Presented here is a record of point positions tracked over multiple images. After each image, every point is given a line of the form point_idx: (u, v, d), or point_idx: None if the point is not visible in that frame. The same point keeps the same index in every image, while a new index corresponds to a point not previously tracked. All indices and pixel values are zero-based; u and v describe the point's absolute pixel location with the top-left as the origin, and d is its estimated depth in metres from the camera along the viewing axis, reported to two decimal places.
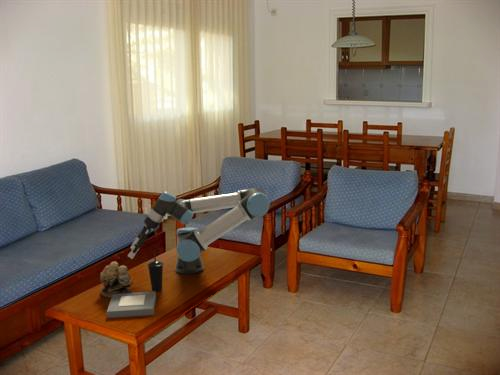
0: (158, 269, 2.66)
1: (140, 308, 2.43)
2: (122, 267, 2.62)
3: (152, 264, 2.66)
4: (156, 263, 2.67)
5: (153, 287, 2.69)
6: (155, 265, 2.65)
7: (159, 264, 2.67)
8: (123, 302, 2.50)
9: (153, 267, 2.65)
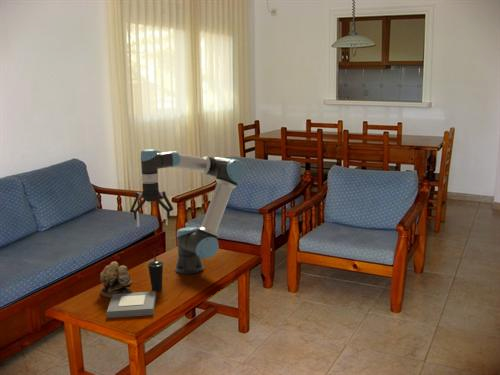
0: (158, 269, 2.66)
1: (140, 308, 2.43)
2: (122, 267, 2.62)
3: (152, 264, 2.66)
4: (156, 263, 2.67)
5: (153, 287, 2.69)
6: (155, 265, 2.65)
7: (159, 264, 2.67)
8: (123, 302, 2.50)
9: (153, 267, 2.65)
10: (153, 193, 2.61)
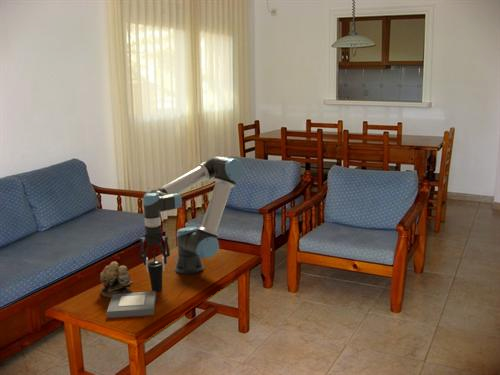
0: (158, 269, 2.66)
1: (140, 308, 2.43)
2: (122, 267, 2.62)
3: (152, 264, 2.66)
4: (156, 263, 2.67)
5: (153, 287, 2.69)
6: (155, 265, 2.65)
7: (159, 264, 2.67)
8: (123, 302, 2.50)
9: (152, 267, 2.65)
10: (156, 235, 2.65)
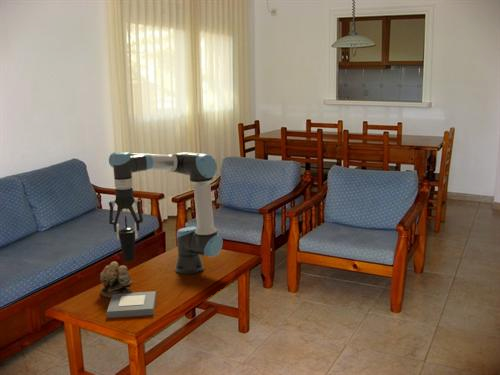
0: (129, 236, 2.42)
1: (140, 308, 2.43)
2: (122, 267, 2.62)
3: (123, 230, 2.42)
4: (127, 229, 2.42)
5: (124, 256, 2.45)
6: (126, 231, 2.41)
7: (131, 231, 2.42)
8: (123, 302, 2.50)
9: (124, 233, 2.41)
10: (128, 198, 2.41)
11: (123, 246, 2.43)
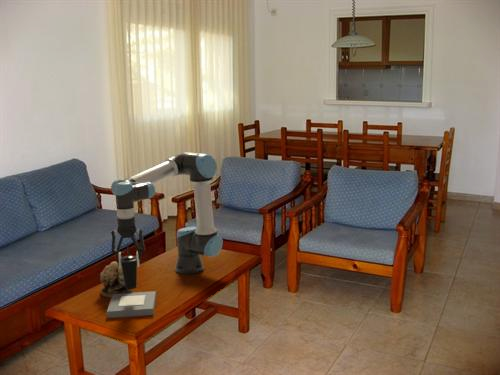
0: (131, 264, 2.45)
1: (140, 308, 2.43)
2: None
3: (125, 259, 2.45)
4: (129, 258, 2.45)
5: (126, 284, 2.47)
6: (128, 260, 2.44)
7: (132, 259, 2.45)
8: (123, 302, 2.50)
9: (126, 262, 2.44)
10: (130, 228, 2.43)
11: (125, 274, 2.46)
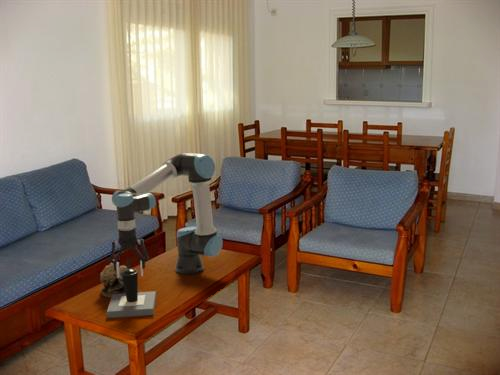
0: (132, 278, 2.46)
1: (140, 308, 2.43)
2: (122, 267, 2.62)
3: (126, 272, 2.46)
4: (130, 271, 2.46)
5: (127, 297, 2.49)
6: (129, 274, 2.45)
7: (133, 272, 2.46)
8: (123, 302, 2.50)
9: (126, 275, 2.45)
10: (130, 239, 2.44)
11: (126, 288, 2.47)
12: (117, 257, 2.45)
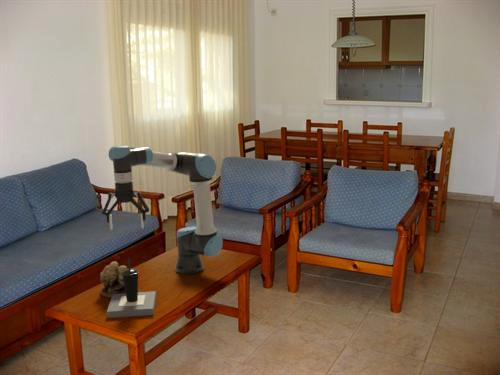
0: (133, 278, 2.46)
1: (140, 308, 2.43)
2: (122, 267, 2.62)
3: (126, 272, 2.46)
4: (131, 271, 2.46)
5: (128, 297, 2.49)
6: (129, 274, 2.45)
7: (134, 272, 2.46)
8: (123, 302, 2.50)
9: (127, 275, 2.45)
10: (127, 193, 2.40)
11: (126, 287, 2.47)
12: (111, 209, 2.41)
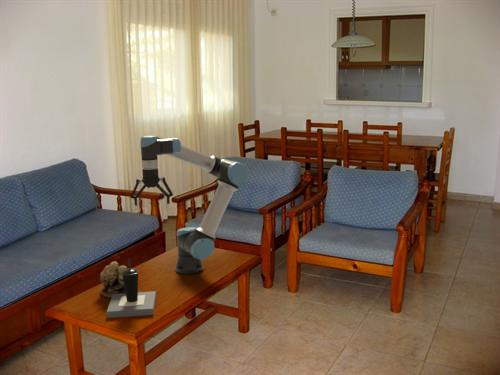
0: (133, 278, 2.46)
1: (140, 308, 2.43)
2: (122, 267, 2.62)
3: (126, 272, 2.46)
4: (131, 271, 2.46)
5: (128, 297, 2.49)
6: (129, 274, 2.45)
7: (134, 272, 2.46)
8: (123, 302, 2.50)
9: (127, 275, 2.45)
10: (153, 179, 2.64)
11: (126, 287, 2.47)
12: (138, 193, 2.65)
